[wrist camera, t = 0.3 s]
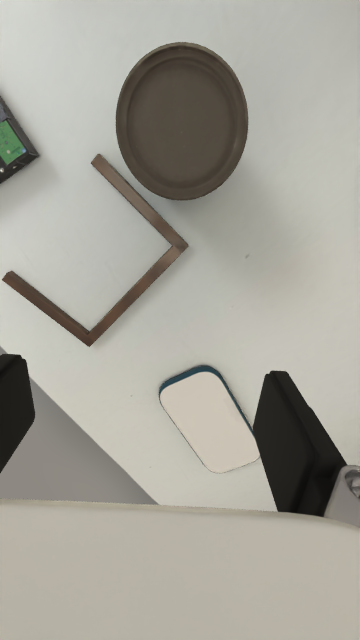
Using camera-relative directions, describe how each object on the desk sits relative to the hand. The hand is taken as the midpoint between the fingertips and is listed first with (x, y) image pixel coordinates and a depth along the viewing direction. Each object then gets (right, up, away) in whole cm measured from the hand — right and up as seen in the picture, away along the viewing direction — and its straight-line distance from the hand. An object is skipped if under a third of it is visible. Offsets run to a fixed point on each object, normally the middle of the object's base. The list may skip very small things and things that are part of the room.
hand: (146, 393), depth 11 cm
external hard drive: (+7, -15, +41) cm, 44 cm away
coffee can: (+1, +24, +24) cm, 33 cm away
